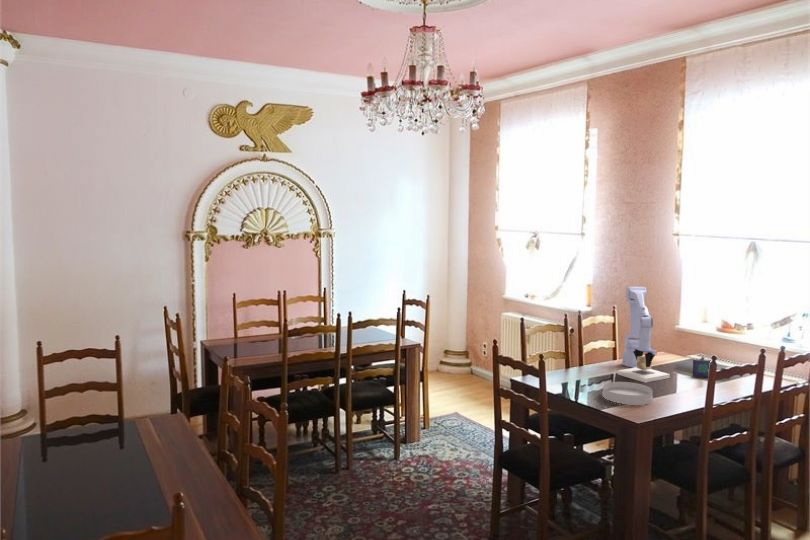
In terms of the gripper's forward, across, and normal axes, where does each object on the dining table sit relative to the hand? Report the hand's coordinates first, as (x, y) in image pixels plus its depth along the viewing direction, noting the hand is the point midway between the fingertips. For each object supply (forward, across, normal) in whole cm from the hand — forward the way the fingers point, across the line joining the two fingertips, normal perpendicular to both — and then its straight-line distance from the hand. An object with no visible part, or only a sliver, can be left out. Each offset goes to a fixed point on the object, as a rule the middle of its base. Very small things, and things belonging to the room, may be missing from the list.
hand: (643, 365), depth 332 cm
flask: (+6, +15, +26) cm, 31 cm away
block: (+2, 0, 0) cm, 2 cm away
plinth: (+6, 0, 0) cm, 6 cm away
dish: (+6, +23, -37) cm, 44 cm away
